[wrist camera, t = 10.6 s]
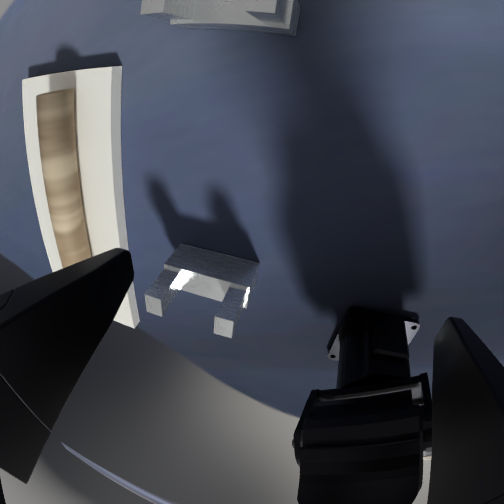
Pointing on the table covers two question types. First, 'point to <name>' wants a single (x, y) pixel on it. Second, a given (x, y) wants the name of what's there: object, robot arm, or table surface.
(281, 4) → the aluminium cradles
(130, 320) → the cutting board
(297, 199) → the table surface
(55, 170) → the beech dowel
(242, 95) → the table surface
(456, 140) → the table surface
